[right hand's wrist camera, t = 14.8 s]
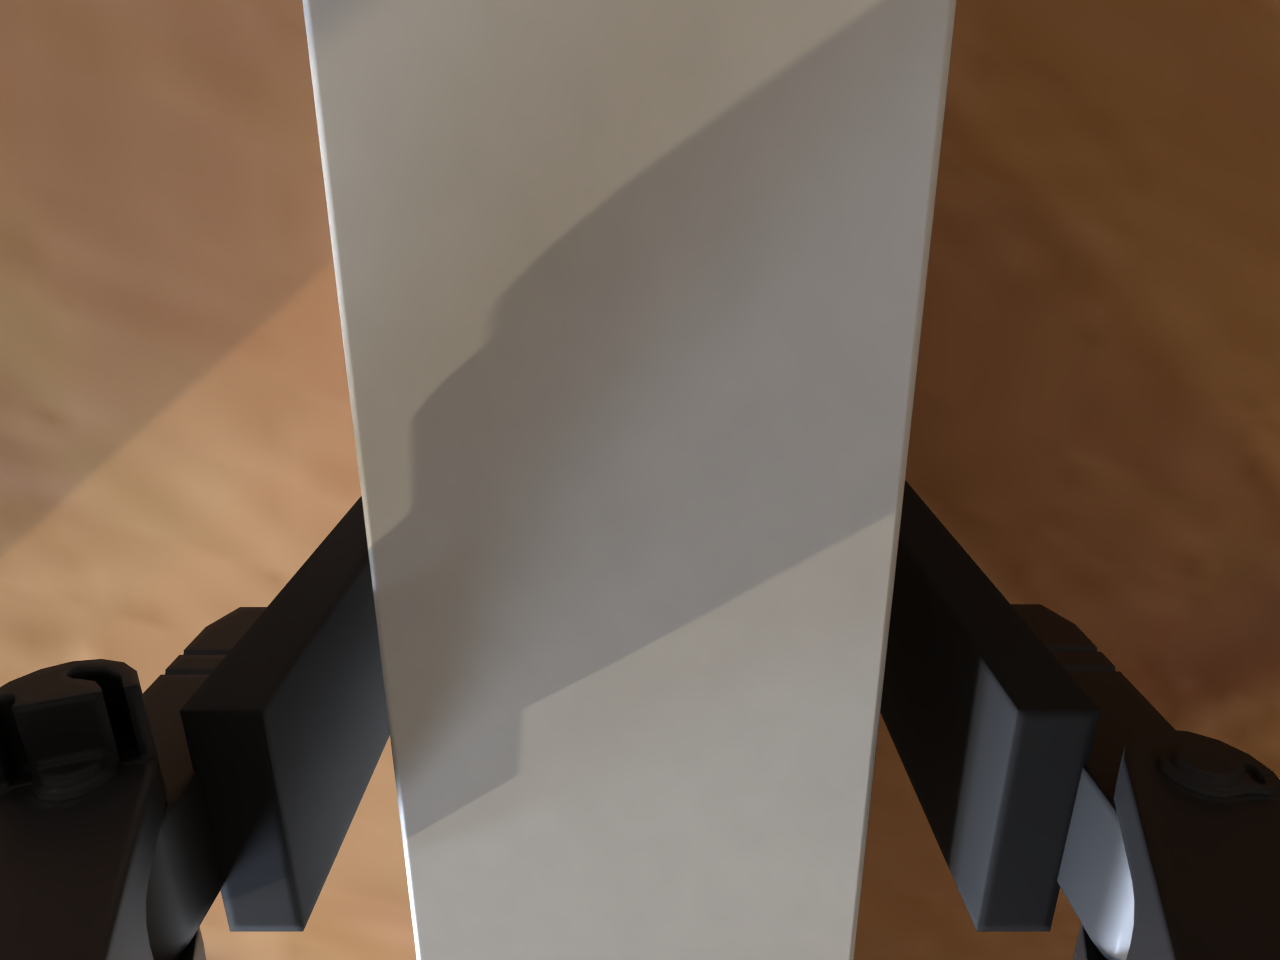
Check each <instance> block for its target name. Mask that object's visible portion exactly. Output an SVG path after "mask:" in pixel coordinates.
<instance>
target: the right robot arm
mask: <svg viewBox="0 0 1280 960" xmlns="http://www.w3.org/2000/svg"><path fill="white" fill-rule="evenodd" d="M880 713H881V715H882V717H883V720H884V722H885V724H886V726H887V729H888V731H889V733H890V735H891V738H892V740H893V742H894V744H895V747H896V749H897V751H898V754H899V756H900V758H901V760H902V763H903V765H904V767H905V769H906V772H907V774H908V776H909V778H910V781H911V783H912V785H913V788H914V790H915V792H916V794H917V797H918V799H919V801H920V803H921V806H922V808H923V810H924V813H925V815H926V817H927V819H928V822H929V824H930V826H931V828H932V831H933V833H934V835H935V837H936V840H937V842H938V844H939V847H940V849H941V851H942V853H943V856H944V858H945V860H946V862H947V865H948V867H949V869H950V871H951V874H952V876H953V878H954V881H955V883H956V885H957V887H958V890H959V892H960V894H961V896H962V899H963V901H964V903H965V906H966V908H967V910H968V912H969V915H970V917H971V919H972V921H973V924H974V926H975V928H976V930H977V931H1050V929H1051V924H1052V920H1053V915H1054V911H1055V907H1056V902H1057V898H1058V894H1059V889H1060V887H1061V889H1062V891H1063V892H1064V894H1065V896H1066V897H1067V899H1068V901H1069V903H1070V904H1071V906H1072V908H1073V909H1074V911H1075V913H1076V915H1077V916H1078V918H1079V920H1080V921H1081V927H1080V931H1079V935H1078V939H1077V943H1076V947H1075V951H1074V955H1073V959H1072V960H1280V780H1279V779H1278V777H1277V776H1276V775H1275V774H1274V772H1273V771H1271V770H1270V769H1268V768H1267V767H1266V766H1264V765H1263V764H1261V763H1260V762H1259V761H1257V760H1256V759H1255V758H1253V757H1252V756H1250V755H1249V754H1247V753H1245V752H1243V751H1241V750H1239V749H1236V748H1234V747H1232V746H1230V745H1228V744H1226V743H1224V742H1221V741H1219V740H1216V739H1213V738H1209V737H1206V736H1202V735H1199V734H1195V733H1191V732H1188V731H1177V730H1175V729H1174V728H1173V727H1172V726H1171V725H1170V724H1169V723H1168V722H1167V721H1166V720H1165V719H1164V718H1163V717H1162V715H1161V714H1160V713H1159V712H1158V711H1157V710H1156V709H1155V708H1154V707H1153V706H1152V705H1151V704H1150V703H1149V702H1148V701H1147V700H1146V699H1145V698H1144V697H1143V696H1142V694H1141V693H1140V692H1139V691H1138V690H1137V689H1136V688H1135V687H1134V686H1133V685H1132V684H1131V683H1130V682H1129V681H1128V680H1127V679H1126V678H1125V677H1124V676H1123V674H1122V673H1121V672H1116V671H1115V666H1114V665H1113V664H1112V663H1111V662H1110V661H1109V660H1108V659H1107V658H1106V657H1105V656H1104V654H1103V653H1102V652H1097V647H1096V646H1095V645H1094V644H1093V643H1092V642H1091V641H1090V640H1089V639H1088V638H1087V637H1086V636H1085V635H1084V633H1083V632H1082V631H1081V630H1080V629H1079V628H1078V627H1077V626H1076V625H1075V624H1073V623H1072V622H1070V621H1068V620H1066V619H1065V618H1063V617H1061V616H1060V615H1058V614H1056V613H1054V612H1053V611H1051V610H1049V609H1047V608H1046V607H1044V606H1042V605H1040V604H1010V603H1009V602H1008V601H1007V600H1006V599H1005V597H1004V596H1003V595H1002V594H1001V593H1000V592H999V590H998V589H997V588H996V587H995V586H994V584H993V583H992V582H991V581H990V580H989V579H988V577H987V576H986V575H985V574H984V573H983V571H982V570H981V569H980V568H979V567H978V566H977V564H976V563H975V562H974V561H973V560H972V558H971V557H970V556H969V555H968V554H967V553H966V551H965V550H964V549H963V548H962V547H961V546H960V544H959V543H958V542H957V541H956V540H955V538H954V537H953V536H952V535H951V534H950V533H949V531H948V530H947V529H946V528H945V527H944V525H943V524H942V523H941V522H940V521H939V520H938V518H937V517H936V516H935V515H934V514H933V512H932V511H931V510H930V509H929V508H928V507H927V505H926V504H925V503H924V502H923V501H922V499H921V498H920V497H919V496H918V495H917V494H916V492H915V491H914V490H913V489H912V488H911V486H910V485H909V484H908V483H907V482H906V481H905V485H904V495H903V504H902V513H901V523H900V532H899V541H898V551H897V560H896V569H895V579H894V588H893V597H892V607H891V616H890V625H889V634H888V644H887V653H886V662H885V672H884V681H883V690H882V700H881V709H880ZM389 735H390V729H389V721H388V713H387V704H386V696H385V687H384V679H383V671H382V662H381V654H380V645H379V637H378V629H377V620H376V612H375V604H374V595H373V587H372V578H371V570H370V562H369V553H368V545H367V536H366V528H365V520H364V511H363V503H362V496H361V497H360V498H359V499H358V501H357V502H356V503H355V504H354V505H353V507H352V508H351V509H350V510H349V511H348V512H347V514H346V515H345V516H344V517H343V518H342V520H341V521H340V522H339V523H338V524H337V525H336V527H335V528H334V529H333V530H332V531H331V532H330V534H329V535H328V536H327V537H326V538H325V540H324V541H323V542H322V543H321V544H320V545H319V547H318V548H317V549H316V550H315V551H314V553H313V554H312V555H311V556H310V557H309V558H308V560H307V561H306V562H305V563H304V564H303V566H302V567H301V568H300V569H299V570H298V571H297V573H296V574H295V575H294V576H293V577H292V579H291V580H290V581H289V582H288V583H287V584H286V586H285V587H284V588H283V589H282V590H281V592H280V593H279V594H278V595H277V596H276V597H275V599H274V600H273V601H272V602H271V603H270V605H269V606H268V607H240V608H238V609H236V610H234V611H233V612H231V613H229V614H228V615H226V616H224V617H222V618H221V619H219V620H217V621H215V622H214V623H212V624H210V625H209V626H207V627H205V628H204V630H203V631H202V632H201V633H200V634H199V635H198V636H197V637H196V638H195V639H194V640H193V641H192V642H191V643H190V644H189V645H188V647H187V648H186V649H185V650H184V655H179V656H178V657H177V658H176V659H175V660H174V661H173V662H172V663H171V665H170V666H169V667H168V668H167V669H166V673H165V675H160V676H159V677H158V678H157V679H156V680H155V681H154V683H153V684H152V685H151V686H150V687H149V688H148V689H147V690H146V691H145V692H144V693H143V694H142V690H141V686H140V682H139V678H138V674H137V671H136V670H134V669H133V668H131V667H130V666H128V665H127V664H125V663H124V662H118V661H111V660H104V659H96V660H84V661H72V662H68V663H64V664H60V665H56V666H52V667H48V668H44V669H40V670H38V671H35V672H33V673H30V674H28V675H25V676H23V677H20V678H18V679H15V680H13V681H10V682H8V683H7V684H5V685H3V686H2V687H0V960H206V956H205V950H204V943H203V939H202V935H201V931H200V927H199V926H200V924H201V922H202V921H203V919H204V917H205V916H206V914H207V912H208V910H209V909H210V907H211V905H212V904H213V902H214V900H215V898H216V897H217V895H218V893H219V891H220V890H221V894H222V898H223V902H224V907H225V911H226V916H227V920H228V924H229V929H230V931H303V930H304V928H305V926H306V924H307V921H308V919H309V917H310V915H311V912H312V910H313V908H314V905H315V903H316V901H317V899H318V896H319V894H320V892H321V890H322V887H323V885H324V883H325V881H326V878H327V876H328V874H329V871H330V869H331V867H332V865H333V862H334V860H335V858H336V856H337V853H338V851H339V849H340V847H341V844H342V842H343V840H344V837H345V835H346V833H347V831H348V828H349V826H350V824H351V822H352V819H353V817H354V815H355V812H356V810H357V808H358V806H359V803H360V801H361V799H362V797H363V794H364V792H365V790H366V788H367V785H368V783H369V781H370V778H371V776H372V774H373V772H374V769H375V767H376V765H377V763H378V760H379V758H380V756H381V753H382V751H383V749H384V747H385V744H386V742H387V740H388V738H389Z"/></svg>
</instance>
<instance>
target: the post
mask: <svg viewBox="0 0 1280 960" xmlns="http://www.w3.org/2000/svg"><path fill="white" fill-rule="evenodd" d="M956 1H957V0H303V8H304V16H305V24H306V33H307V41H308V49H309V58H310V66H311V75H312V83H313V91H314V100H315V108H316V117H317V125H318V133H319V142H320V150H321V159H322V167H323V175H324V184H325V192H326V201H327V209H328V217H329V226H330V234H331V243H332V251H333V259H334V268H335V276H336V285H337V293H338V301H339V310H340V318H341V326H342V335H343V343H344V352H345V360H346V368H347V377H348V385H349V394H350V402H351V410H352V419H353V427H354V436H355V444H356V452H357V461H358V469H359V478H360V486H361V494H362V503H363V511H364V520H365V528H366V536H367V545H368V553H369V562H370V570H371V578H372V587H373V595H374V604H375V612H376V620H377V629H378V637H379V645H380V654H381V662H382V671H383V679H384V687H385V696H386V704H387V713H388V721H389V729H390V738H391V746H392V755H393V763H394V771H395V780H396V788H397V797H398V805H399V813H400V822H401V830H402V839H403V847H404V855H405V864H406V872H407V881H408V889H409V897H410V906H411V914H412V922H413V931H414V939H415V948H416V956H417V960H854V951H855V942H856V933H857V923H858V914H859V905H860V895H861V886H862V877H863V868H864V858H865V849H866V840H867V830H868V821H869V812H870V802H871V793H872V784H873V774H874V765H875V756H876V746H877V737H878V728H879V718H880V709H881V700H882V690H883V681H884V672H885V662H886V653H887V644H888V634H889V625H890V616H891V607H892V597H893V588H894V579H895V569H896V560H897V551H898V541H899V532H900V523H901V513H902V504H903V495H904V485H905V476H906V467H907V457H908V448H909V439H910V429H911V420H912V411H913V401H914V392H915V383H916V373H917V364H918V355H919V345H920V336H921V327H922V318H923V308H924V299H925V290H926V280H927V271H928V262H929V252H930V243H931V234H932V224H933V215H934V206H935V196H936V187H937V178H938V168H939V159H940V150H941V140H942V131H943V122H944V112H945V103H946V94H947V84H948V75H949V66H950V56H951V47H952V38H953V29H954V19H955V10H956Z"/></svg>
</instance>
